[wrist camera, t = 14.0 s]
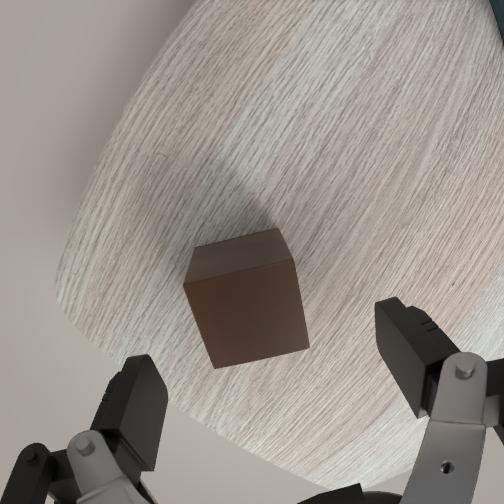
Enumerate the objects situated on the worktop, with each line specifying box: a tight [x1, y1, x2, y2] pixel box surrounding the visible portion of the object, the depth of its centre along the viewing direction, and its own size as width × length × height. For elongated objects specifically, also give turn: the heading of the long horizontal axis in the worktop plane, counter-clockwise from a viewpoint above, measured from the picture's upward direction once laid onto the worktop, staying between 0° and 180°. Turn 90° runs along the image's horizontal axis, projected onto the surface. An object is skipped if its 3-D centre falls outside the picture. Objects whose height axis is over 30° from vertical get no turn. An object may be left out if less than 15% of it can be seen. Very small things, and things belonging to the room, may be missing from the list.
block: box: [183, 228, 310, 369], centre depth 15 cm, size 4×4×4 cm
